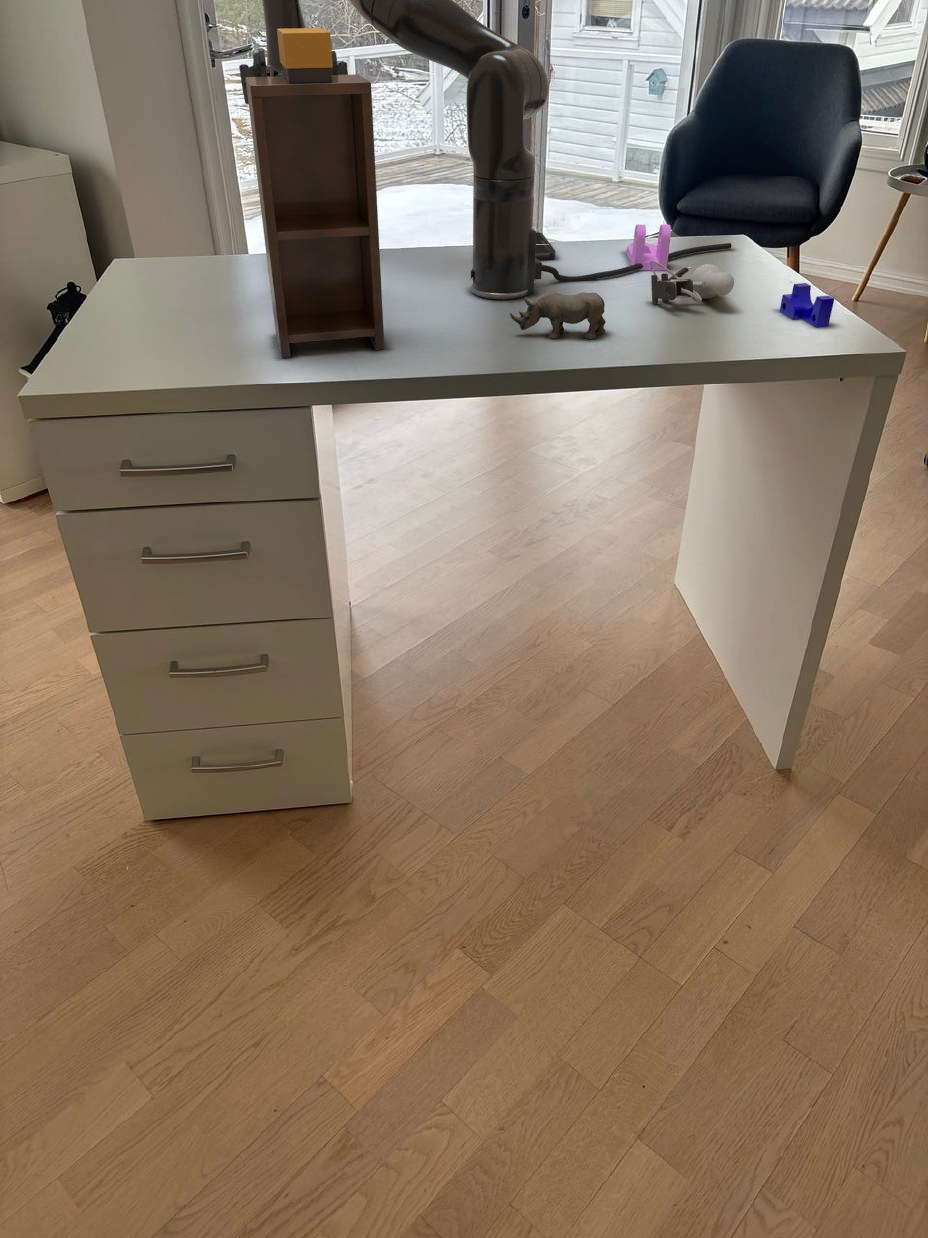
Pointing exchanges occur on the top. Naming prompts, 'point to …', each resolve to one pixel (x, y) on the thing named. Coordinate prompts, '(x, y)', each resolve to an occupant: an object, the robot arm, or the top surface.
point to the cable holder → (807, 306)
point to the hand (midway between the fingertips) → (296, 54)
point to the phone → (543, 248)
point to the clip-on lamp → (691, 283)
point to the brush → (305, 55)
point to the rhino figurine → (564, 312)
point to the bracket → (649, 248)
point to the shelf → (318, 207)
